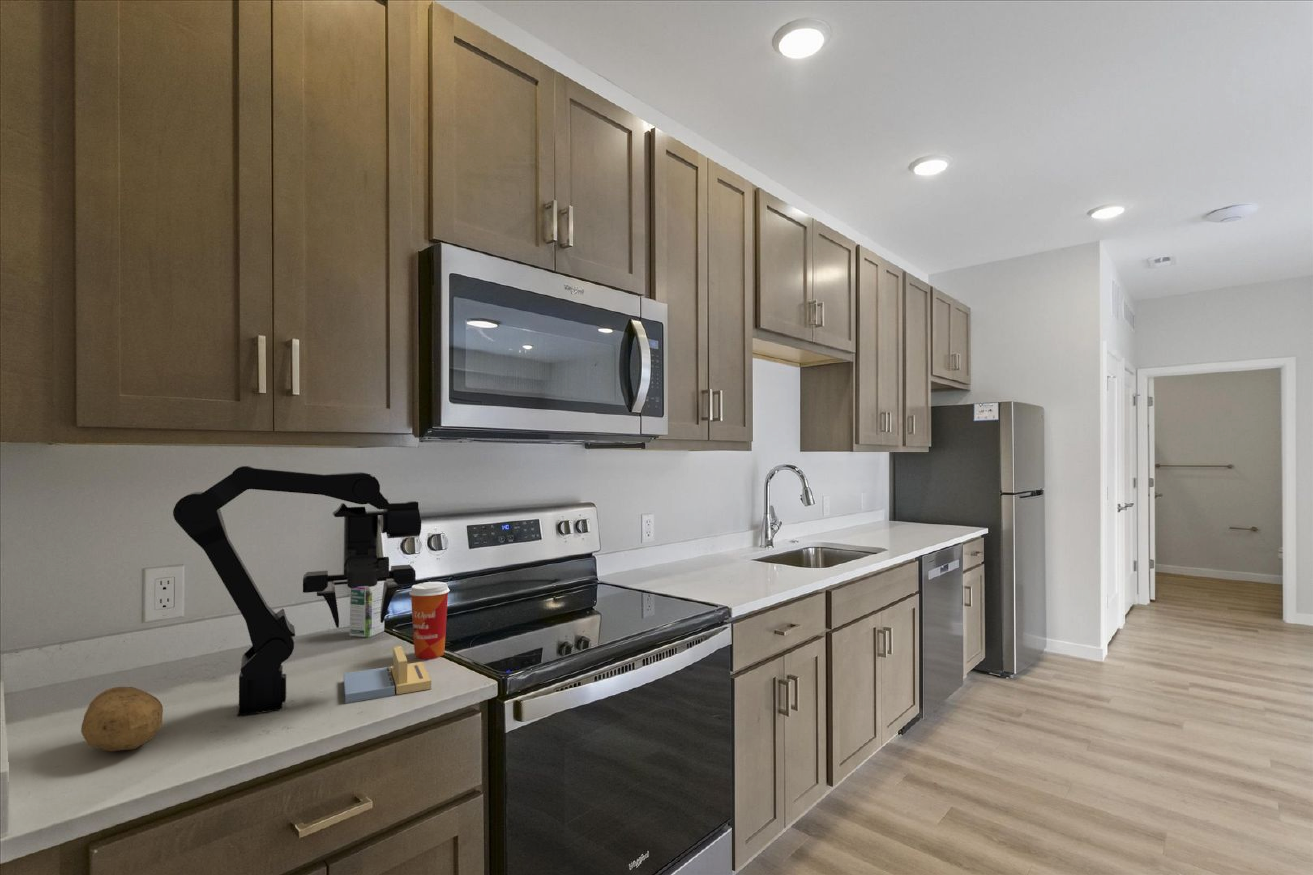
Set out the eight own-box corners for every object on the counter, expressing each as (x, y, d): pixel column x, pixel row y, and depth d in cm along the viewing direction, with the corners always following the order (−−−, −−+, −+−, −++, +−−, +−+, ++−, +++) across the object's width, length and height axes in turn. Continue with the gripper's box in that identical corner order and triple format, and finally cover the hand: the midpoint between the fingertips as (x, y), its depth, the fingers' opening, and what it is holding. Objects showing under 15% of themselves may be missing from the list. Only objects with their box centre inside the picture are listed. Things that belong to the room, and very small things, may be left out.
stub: (396, 694, 118) (396, 663, 118) (390, 674, 128) (390, 645, 128) (431, 688, 120) (431, 658, 120) (422, 669, 131) (422, 641, 131)
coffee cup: (400, 657, 139) (400, 586, 139) (430, 647, 146) (430, 579, 146) (429, 663, 135) (429, 590, 135) (458, 652, 142) (458, 583, 142)
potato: (91, 774, 89) (91, 716, 89) (71, 745, 98) (72, 691, 98) (177, 749, 97) (177, 695, 97) (151, 723, 106) (152, 674, 106)
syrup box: (348, 636, 154) (348, 575, 155) (365, 629, 160) (365, 570, 160) (368, 638, 153) (368, 576, 153) (385, 631, 159) (385, 571, 159)
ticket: (345, 703, 114) (345, 693, 114) (343, 681, 124) (343, 672, 124) (394, 695, 117) (394, 685, 117) (388, 674, 128) (388, 666, 128)
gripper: (302, 549, 109) (301, 642, 109) (419, 542, 118) (419, 629, 118) (304, 541, 119) (303, 626, 119) (412, 535, 128) (411, 615, 127)
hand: (360, 624), depth 120 cm, fingers open, 7 cm apart
